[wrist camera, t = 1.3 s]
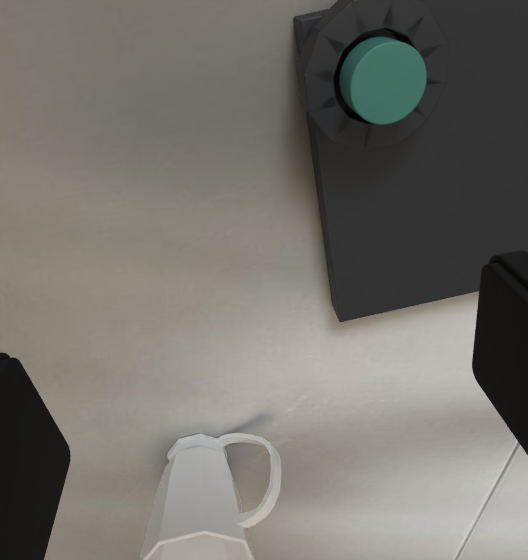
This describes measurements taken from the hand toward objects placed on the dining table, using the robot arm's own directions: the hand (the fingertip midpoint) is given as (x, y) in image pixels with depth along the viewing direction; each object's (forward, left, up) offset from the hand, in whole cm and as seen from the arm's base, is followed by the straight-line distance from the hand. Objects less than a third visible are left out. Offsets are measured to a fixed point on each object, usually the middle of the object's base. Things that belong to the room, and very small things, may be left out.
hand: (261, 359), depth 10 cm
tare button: (-2, +7, -13) cm, 15 cm away
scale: (+4, +11, -16) cm, 20 cm away
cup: (+22, -6, -16) cm, 28 cm away
